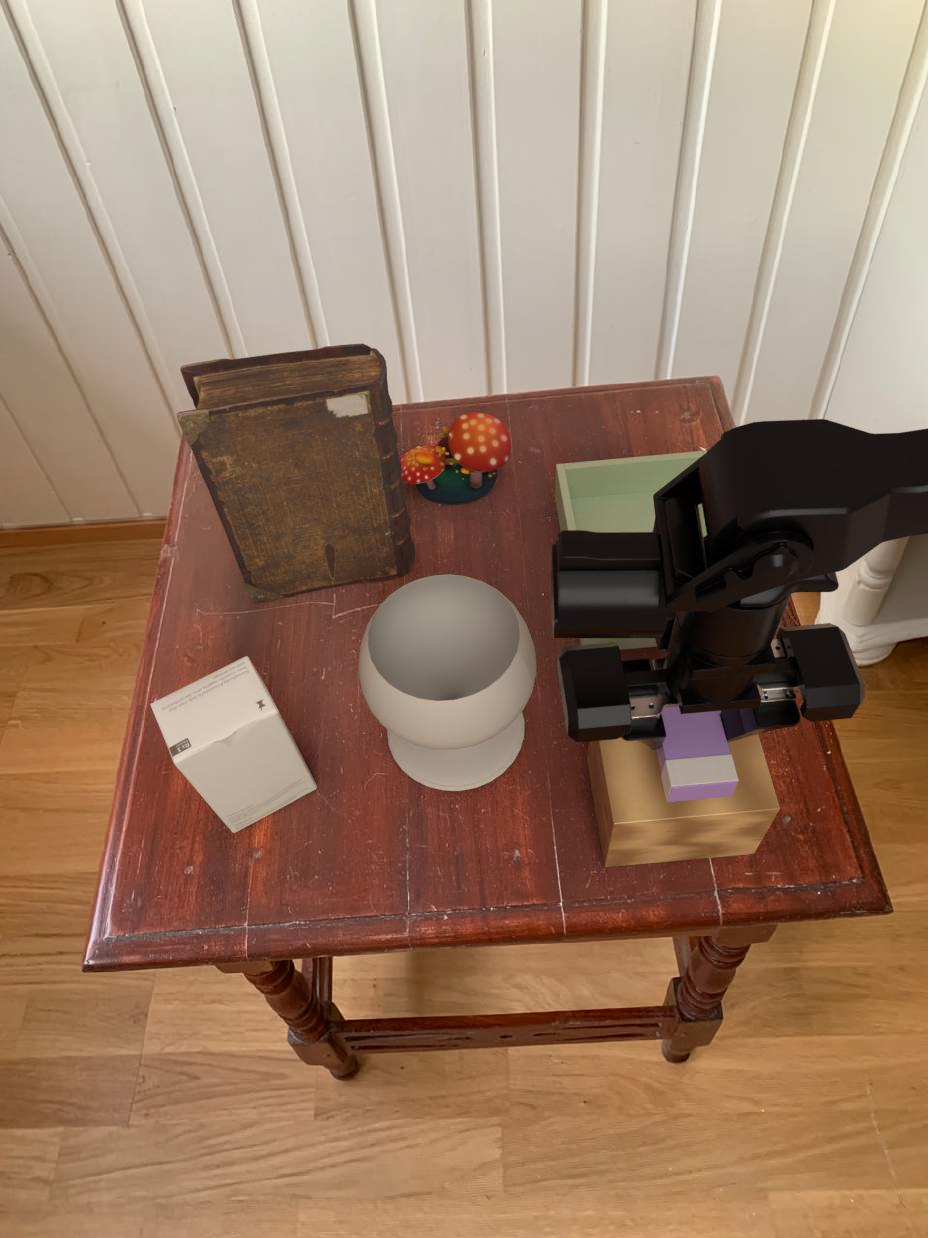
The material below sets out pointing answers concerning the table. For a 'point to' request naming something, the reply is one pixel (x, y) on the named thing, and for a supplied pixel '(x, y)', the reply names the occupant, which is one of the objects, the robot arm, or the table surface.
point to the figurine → (459, 460)
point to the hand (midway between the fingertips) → (686, 740)
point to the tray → (617, 502)
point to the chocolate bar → (695, 757)
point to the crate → (676, 806)
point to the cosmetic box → (233, 745)
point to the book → (302, 467)
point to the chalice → (449, 679)
